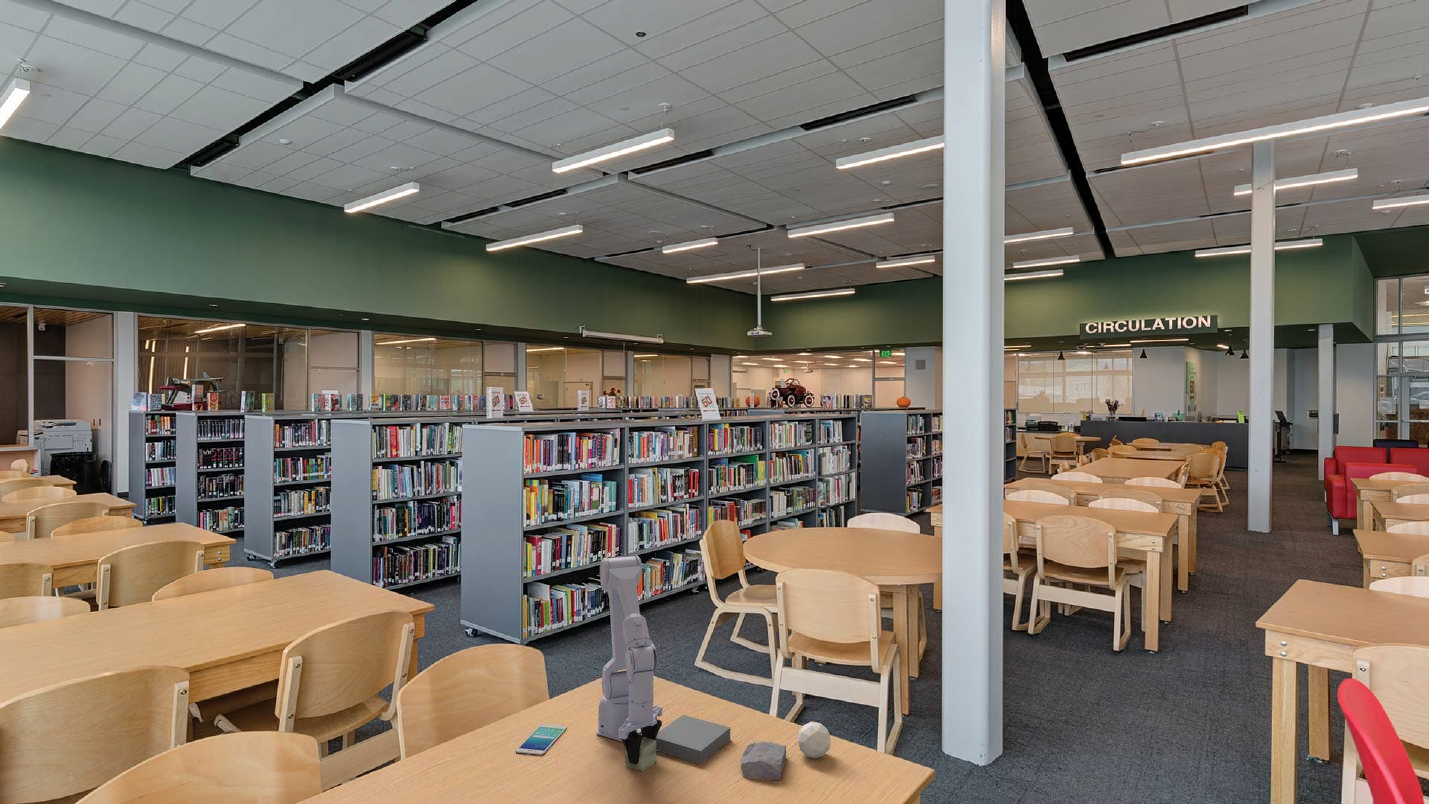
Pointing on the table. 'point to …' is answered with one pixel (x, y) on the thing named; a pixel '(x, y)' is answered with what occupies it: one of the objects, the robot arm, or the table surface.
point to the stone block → (763, 761)
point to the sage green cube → (644, 755)
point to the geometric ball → (814, 740)
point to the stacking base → (692, 738)
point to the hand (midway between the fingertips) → (640, 757)
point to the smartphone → (541, 739)
